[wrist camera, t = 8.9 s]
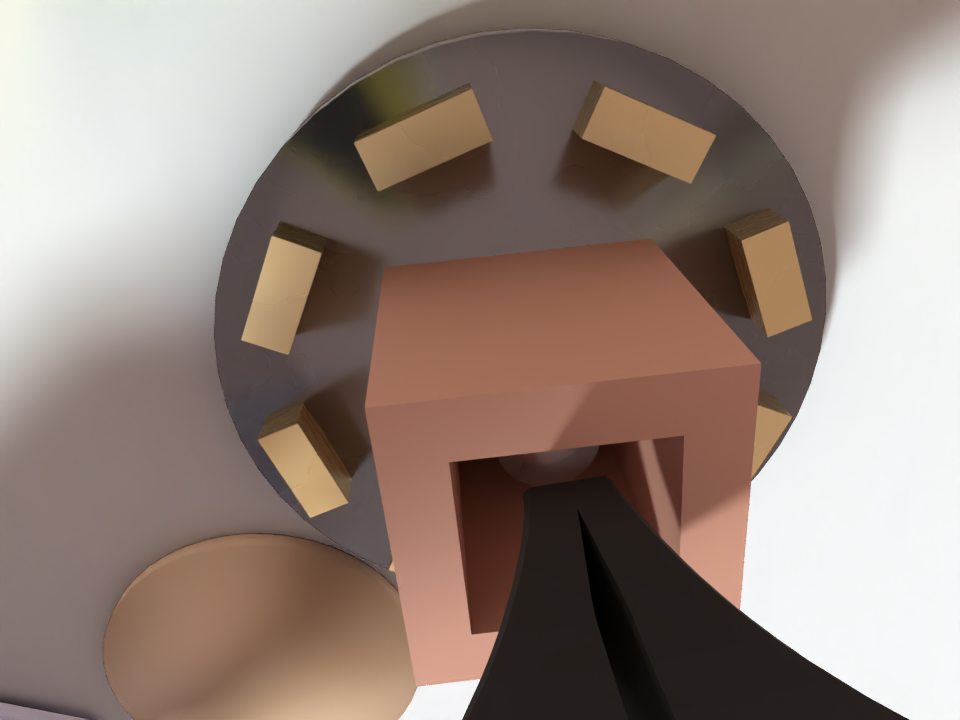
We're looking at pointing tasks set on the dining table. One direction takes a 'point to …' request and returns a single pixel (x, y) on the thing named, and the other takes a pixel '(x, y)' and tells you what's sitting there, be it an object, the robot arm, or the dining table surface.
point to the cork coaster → (259, 635)
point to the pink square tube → (548, 422)
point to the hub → (496, 237)
